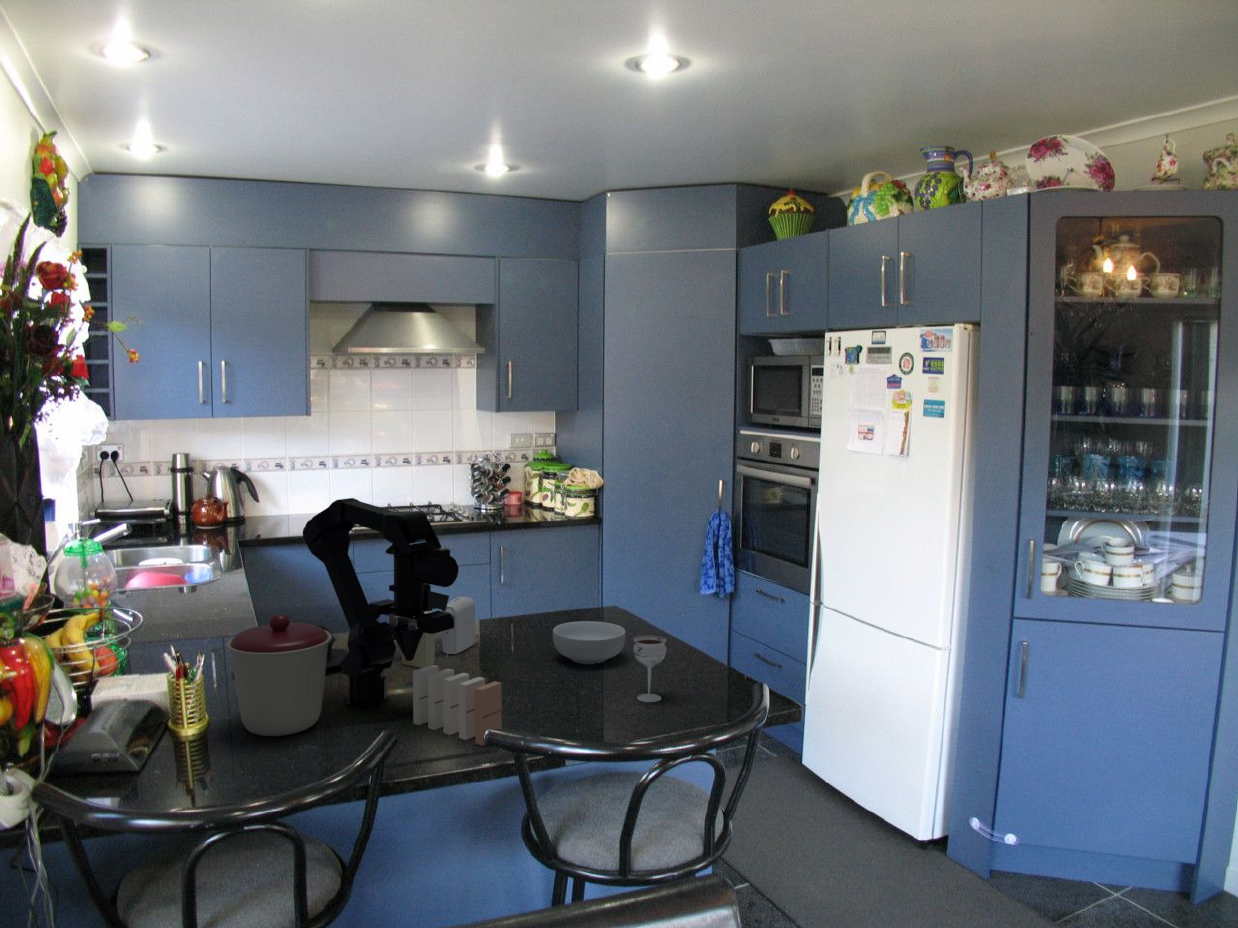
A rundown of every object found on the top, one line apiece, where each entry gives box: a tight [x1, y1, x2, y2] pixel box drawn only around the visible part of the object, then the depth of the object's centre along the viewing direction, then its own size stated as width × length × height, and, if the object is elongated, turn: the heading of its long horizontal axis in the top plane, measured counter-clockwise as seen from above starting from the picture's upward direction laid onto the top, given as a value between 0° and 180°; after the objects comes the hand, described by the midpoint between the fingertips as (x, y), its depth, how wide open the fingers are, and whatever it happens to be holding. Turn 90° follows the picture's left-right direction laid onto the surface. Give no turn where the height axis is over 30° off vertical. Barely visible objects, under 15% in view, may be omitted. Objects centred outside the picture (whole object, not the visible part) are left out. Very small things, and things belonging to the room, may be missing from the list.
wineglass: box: [632, 634, 668, 703], centre depth 193 cm, size 7×7×12 cm
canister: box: [225, 613, 333, 737], centre depth 174 cm, size 18×18×21 cm
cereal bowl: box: [552, 620, 626, 665], centre depth 219 cm, size 17×17×7 cm
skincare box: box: [401, 610, 436, 669], centre depth 213 cm, size 6×4×12 cm
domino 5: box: [474, 680, 503, 746], centre depth 169 cm, size 2×5×10 cm, turn 144°
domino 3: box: [442, 672, 470, 736], centre depth 174 cm, size 2×5×10 cm, turn 144°
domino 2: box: [427, 668, 455, 731], centre depth 176 cm, size 2×5×10 cm, turn 144°
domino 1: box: [412, 664, 440, 726], centre depth 179 cm, size 2×5×10 cm, turn 144°
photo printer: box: [442, 596, 476, 655], centre depth 225 cm, size 10×4×12 cm, turn 160°
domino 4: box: [458, 676, 486, 741], centre depth 172 cm, size 2×5×10 cm, turn 144°
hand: (409, 660), depth 181 cm, fingers closed
